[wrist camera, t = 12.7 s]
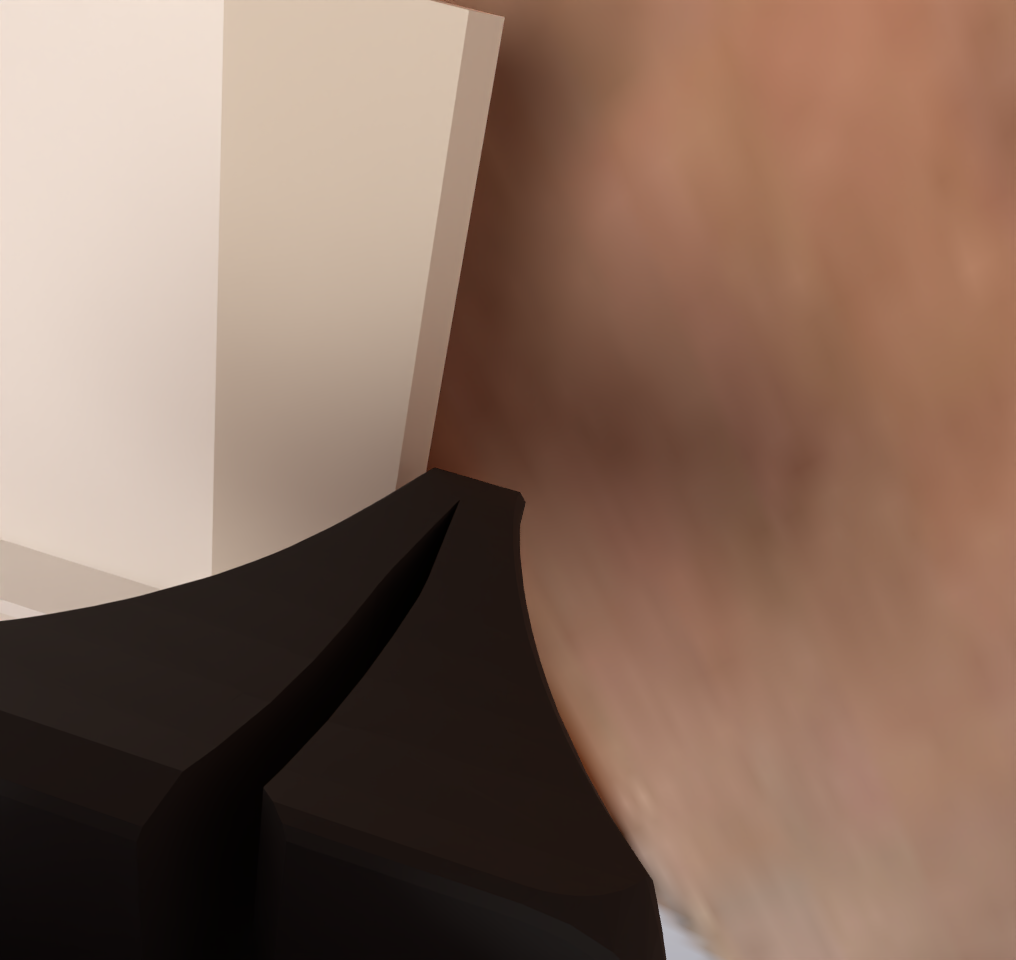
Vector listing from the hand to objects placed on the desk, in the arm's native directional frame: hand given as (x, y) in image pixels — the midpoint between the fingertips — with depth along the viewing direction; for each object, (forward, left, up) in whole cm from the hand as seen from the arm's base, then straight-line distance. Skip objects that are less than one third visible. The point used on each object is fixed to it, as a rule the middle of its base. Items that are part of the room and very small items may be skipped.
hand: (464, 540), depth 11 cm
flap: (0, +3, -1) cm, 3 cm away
